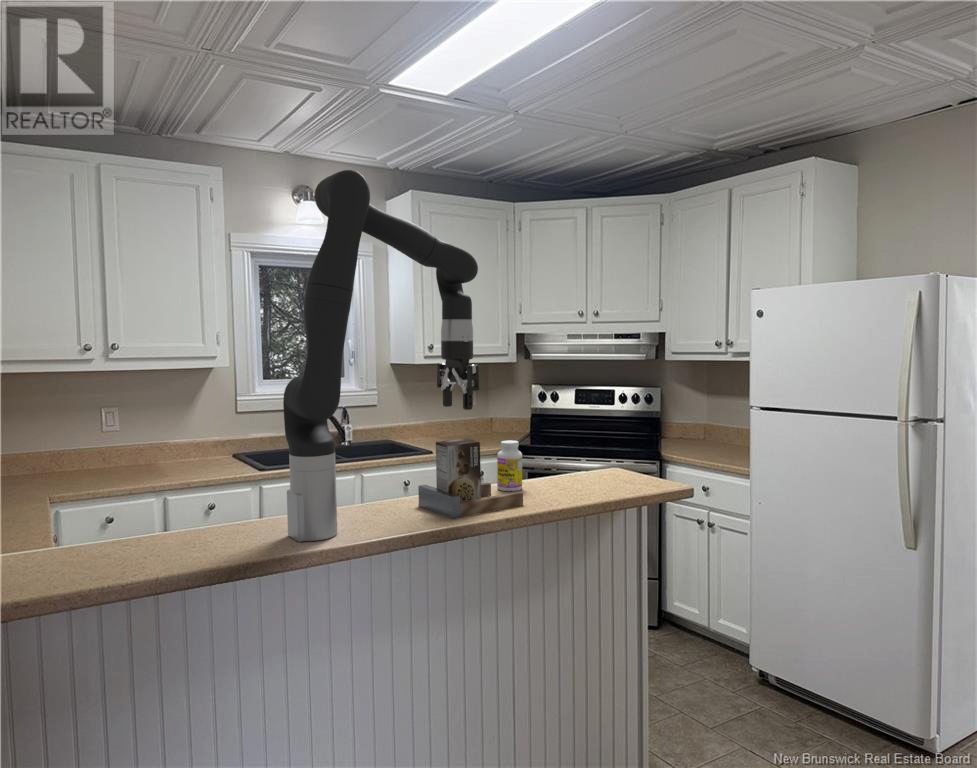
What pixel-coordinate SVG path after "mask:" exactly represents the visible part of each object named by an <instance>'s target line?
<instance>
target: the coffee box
mask: <svg viewBox="0 0 977 768" xmlns="http://www.w3.org/2000/svg"><path fill="white" fill-rule="evenodd" d="M435 467H436V469H435V471H436V473H435V474H436V475H435V477H436V480H435V481H436V488H438V489H441V490H444V491H447V492H450V493H453V494H456V495H459V496H460V502H465V501H470V500H476V499H481V498H482V497H481V484H482V475H481V441H478V440H475V439H473V438H468V437H467V438H460V439H459V438H458V439H450V440H440V441H435Z"/></svg>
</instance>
